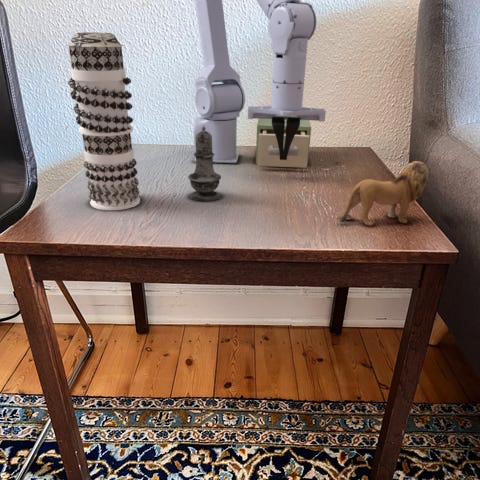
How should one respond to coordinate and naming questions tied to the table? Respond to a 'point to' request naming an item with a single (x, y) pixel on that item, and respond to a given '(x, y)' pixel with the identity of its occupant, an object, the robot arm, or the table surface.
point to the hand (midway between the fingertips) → (283, 158)
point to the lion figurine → (389, 192)
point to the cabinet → (267, 124)
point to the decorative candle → (104, 119)
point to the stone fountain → (204, 169)
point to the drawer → (270, 149)
